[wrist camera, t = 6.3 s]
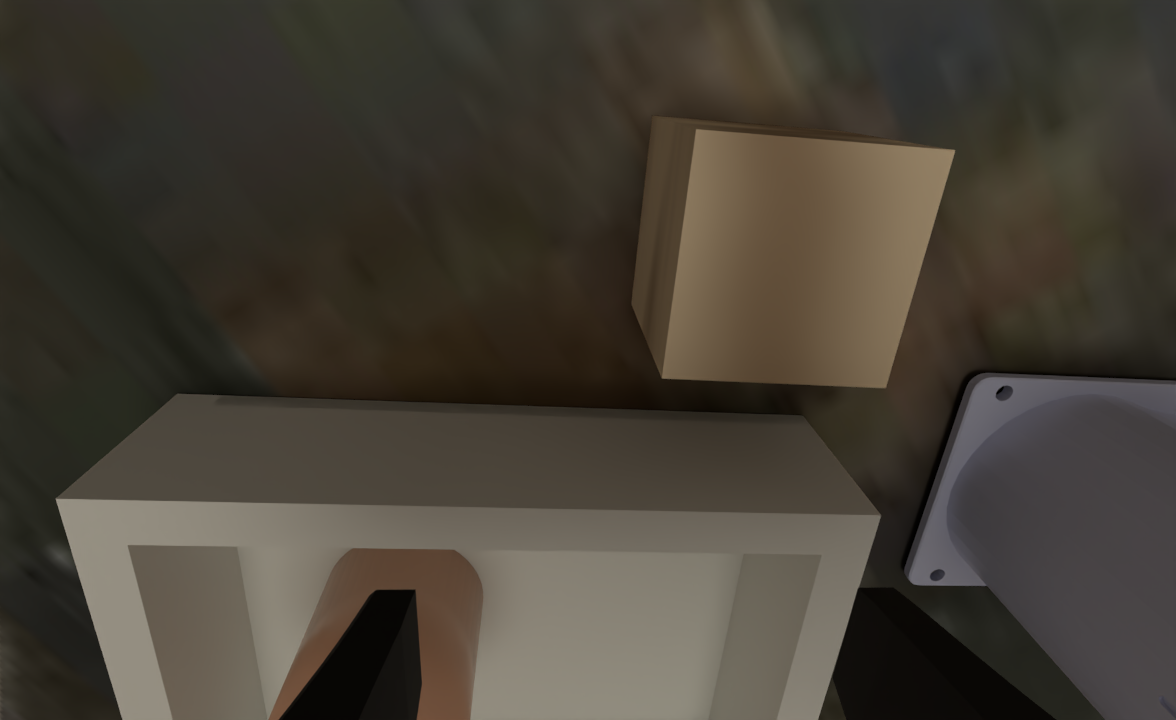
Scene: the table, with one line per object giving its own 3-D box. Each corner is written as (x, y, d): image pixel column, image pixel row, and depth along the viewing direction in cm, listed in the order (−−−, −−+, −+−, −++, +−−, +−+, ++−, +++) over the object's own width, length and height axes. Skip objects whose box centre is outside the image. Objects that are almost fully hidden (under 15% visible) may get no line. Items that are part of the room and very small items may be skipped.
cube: (841, 130, 17) (955, 150, 12) (800, 312, 19) (885, 388, 14) (651, 115, 16) (696, 129, 12) (630, 303, 18) (662, 378, 14)
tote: (802, 415, 20) (881, 515, 15) (728, 734, 26) (769, 877, 21) (177, 393, 18) (55, 498, 14) (246, 740, 24) (176, 896, 19)
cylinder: (484, 535, 20) (457, 748, 14) (483, 652, 22) (459, 886, 16) (319, 533, 20) (213, 752, 13) (333, 653, 22) (247, 893, 15)
